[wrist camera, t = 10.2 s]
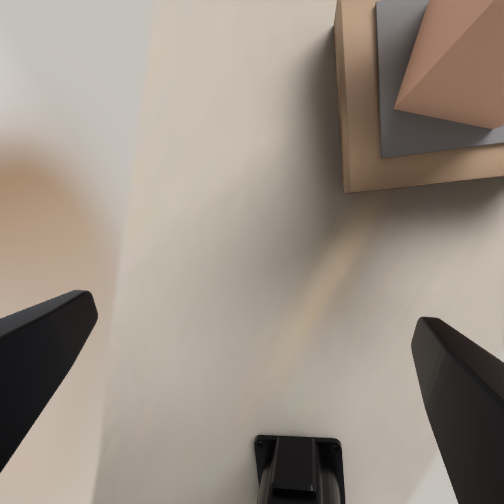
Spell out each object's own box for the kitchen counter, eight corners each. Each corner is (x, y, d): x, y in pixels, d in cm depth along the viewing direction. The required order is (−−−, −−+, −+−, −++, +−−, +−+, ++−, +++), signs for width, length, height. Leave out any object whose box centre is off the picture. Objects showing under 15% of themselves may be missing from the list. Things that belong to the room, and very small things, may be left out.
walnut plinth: (521, 174, 18) (586, 166, 14) (343, 193, 20) (352, 191, 16) (526, -17, 16) (600, -92, 12) (333, 24, 18) (340, -27, 14)
